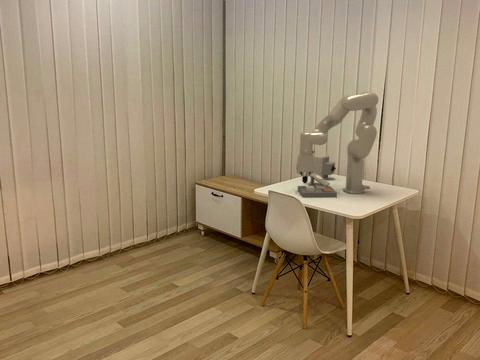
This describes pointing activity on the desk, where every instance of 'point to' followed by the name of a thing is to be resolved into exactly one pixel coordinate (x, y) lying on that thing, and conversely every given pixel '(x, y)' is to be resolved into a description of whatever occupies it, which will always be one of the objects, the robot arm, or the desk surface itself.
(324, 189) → the copper button
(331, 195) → the dark grey tray
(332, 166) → the circuit breaker
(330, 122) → the robot arm
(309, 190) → the grey button
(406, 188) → the desk surface
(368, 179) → the desk surface
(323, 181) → the pale slanted lever
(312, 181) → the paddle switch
